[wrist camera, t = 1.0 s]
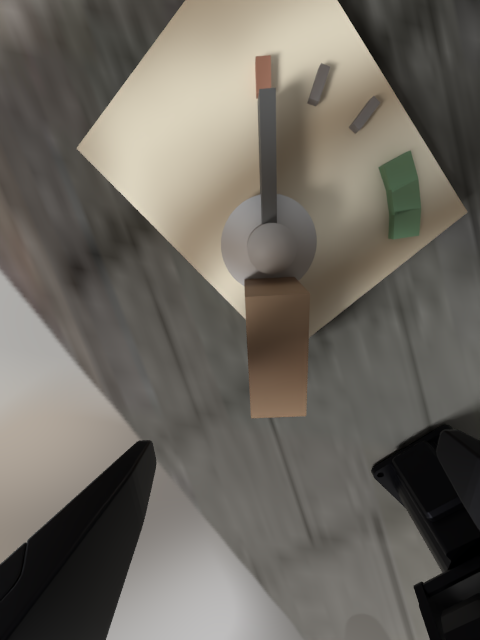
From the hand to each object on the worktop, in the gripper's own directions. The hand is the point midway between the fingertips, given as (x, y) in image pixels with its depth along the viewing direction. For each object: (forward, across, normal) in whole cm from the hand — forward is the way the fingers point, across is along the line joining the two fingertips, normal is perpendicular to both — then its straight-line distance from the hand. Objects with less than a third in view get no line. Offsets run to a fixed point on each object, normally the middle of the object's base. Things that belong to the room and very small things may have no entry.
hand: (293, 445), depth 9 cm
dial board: (+9, 0, -8) cm, 12 cm away
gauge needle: (+7, 0, -5) cm, 9 cm away
